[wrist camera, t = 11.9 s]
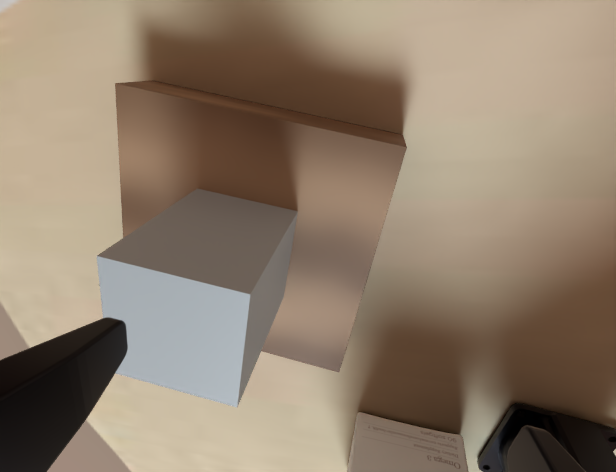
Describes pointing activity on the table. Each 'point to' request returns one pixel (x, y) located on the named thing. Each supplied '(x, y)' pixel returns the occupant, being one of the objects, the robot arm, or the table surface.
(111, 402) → the table surface
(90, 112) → the table surface
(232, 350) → the grey block
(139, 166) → the walnut base
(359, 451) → the supplement box
